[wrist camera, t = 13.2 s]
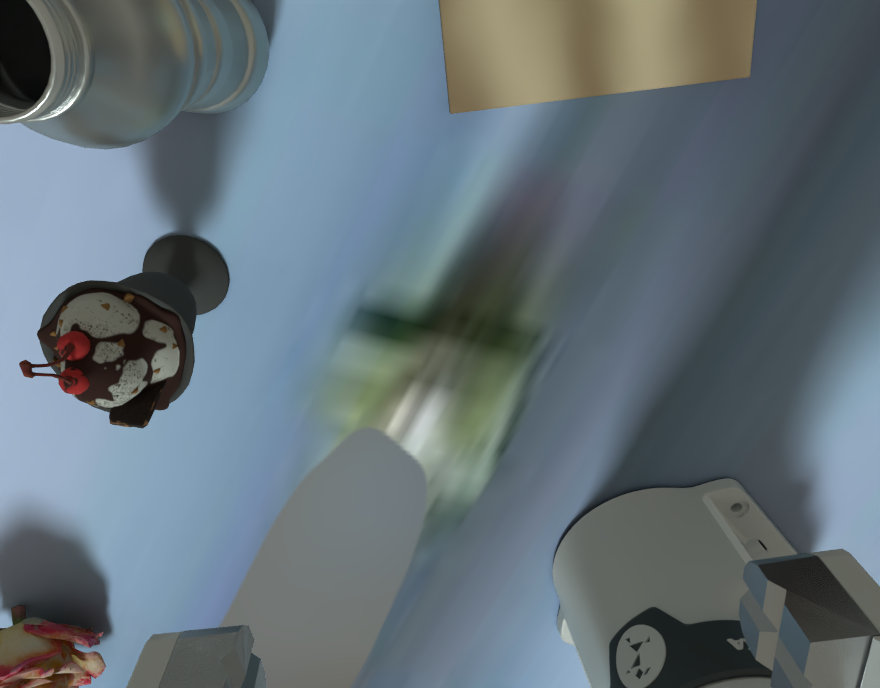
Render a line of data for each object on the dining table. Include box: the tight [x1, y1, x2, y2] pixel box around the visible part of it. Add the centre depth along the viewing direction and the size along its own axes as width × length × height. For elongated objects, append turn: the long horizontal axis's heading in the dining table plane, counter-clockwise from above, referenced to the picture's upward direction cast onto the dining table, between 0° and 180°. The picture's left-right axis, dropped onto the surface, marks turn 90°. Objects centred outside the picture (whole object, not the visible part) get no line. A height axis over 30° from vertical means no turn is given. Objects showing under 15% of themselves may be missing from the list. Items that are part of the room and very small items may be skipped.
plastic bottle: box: [0, 0, 269, 149], centre depth 24 cm, size 6×7×20 cm
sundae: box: [19, 236, 229, 428], centre depth 31 cm, size 7×7×15 cm
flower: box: [0, 605, 106, 688], centre depth 46 cm, size 10×9×8 cm
